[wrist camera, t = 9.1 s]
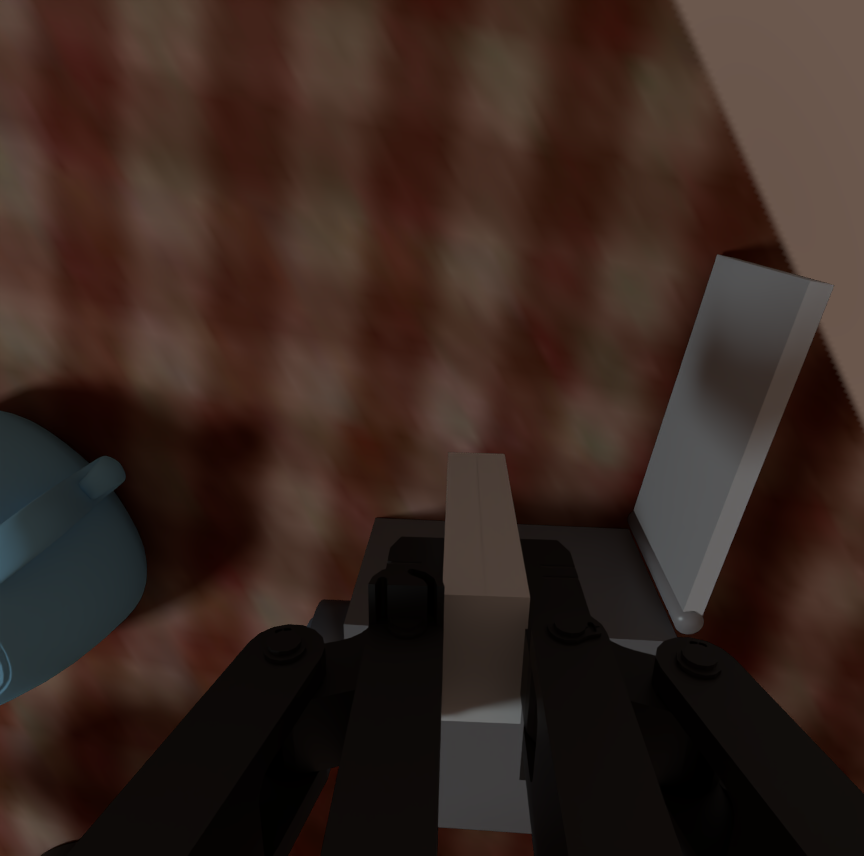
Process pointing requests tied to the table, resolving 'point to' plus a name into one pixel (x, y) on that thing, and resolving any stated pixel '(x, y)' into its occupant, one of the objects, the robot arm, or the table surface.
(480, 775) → the camera case
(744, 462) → the side door
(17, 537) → the teapot
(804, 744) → the robot arm
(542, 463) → the table surface
